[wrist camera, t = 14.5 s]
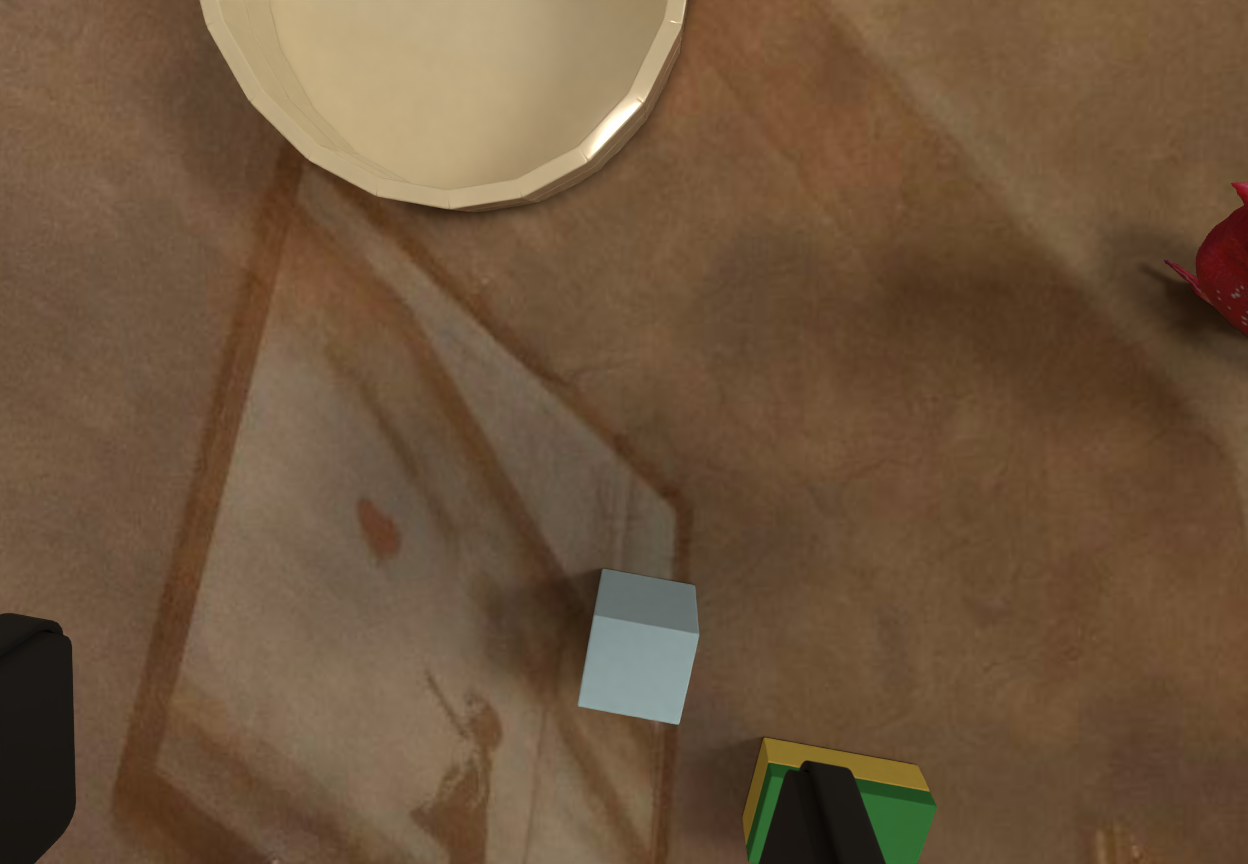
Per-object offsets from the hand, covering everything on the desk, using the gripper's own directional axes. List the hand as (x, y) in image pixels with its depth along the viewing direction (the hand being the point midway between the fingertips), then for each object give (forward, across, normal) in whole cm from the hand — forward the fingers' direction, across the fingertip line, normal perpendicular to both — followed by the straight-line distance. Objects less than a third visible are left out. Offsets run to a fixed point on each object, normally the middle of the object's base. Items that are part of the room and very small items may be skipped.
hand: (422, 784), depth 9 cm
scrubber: (+20, -14, +15) cm, 29 cm away
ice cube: (+20, -4, +9) cm, 23 cm away
